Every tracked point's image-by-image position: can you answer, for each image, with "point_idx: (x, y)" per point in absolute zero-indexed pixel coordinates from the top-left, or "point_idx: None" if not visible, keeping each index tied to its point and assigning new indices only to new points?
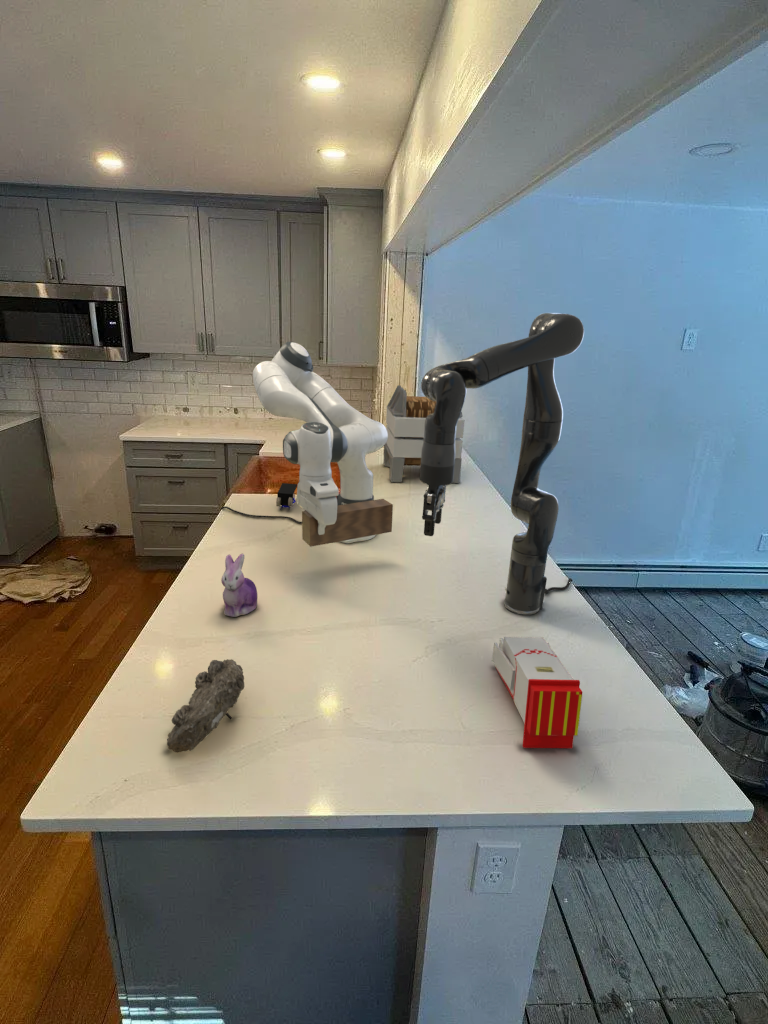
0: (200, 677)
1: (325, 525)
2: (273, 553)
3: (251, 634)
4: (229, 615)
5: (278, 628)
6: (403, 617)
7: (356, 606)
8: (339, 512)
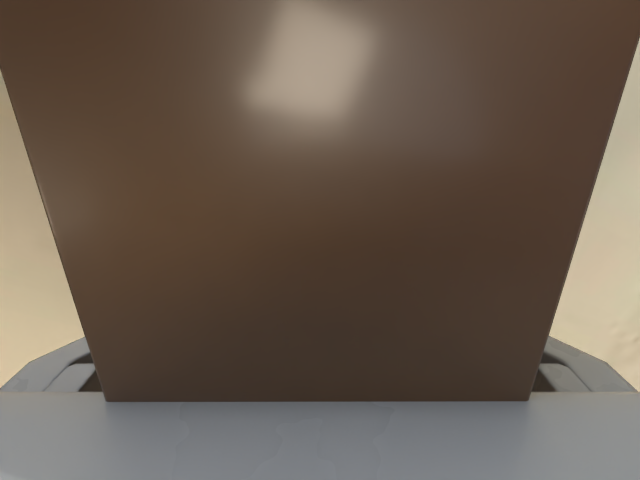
0: None
1: (564, 350)
2: (39, 259)
3: None
4: None
5: None
6: None
7: (629, 141)
8: (611, 32)
